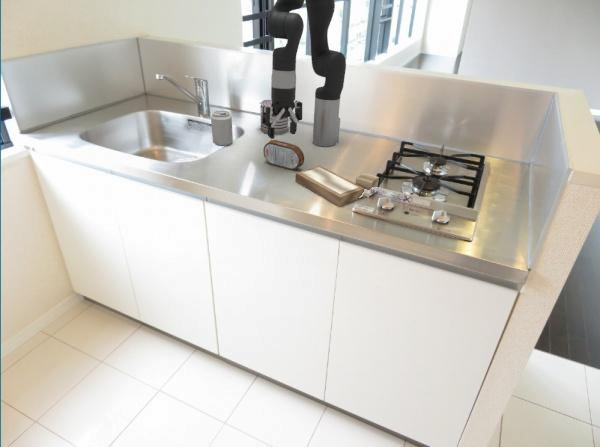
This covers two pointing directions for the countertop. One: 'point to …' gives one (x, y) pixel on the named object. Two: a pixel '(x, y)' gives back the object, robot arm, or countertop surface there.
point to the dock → (329, 185)
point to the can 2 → (280, 126)
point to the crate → (367, 181)
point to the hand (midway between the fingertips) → (282, 135)
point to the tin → (283, 154)
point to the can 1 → (222, 128)
